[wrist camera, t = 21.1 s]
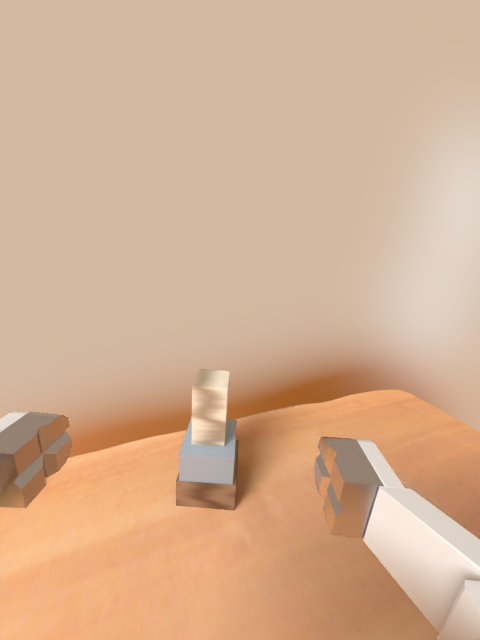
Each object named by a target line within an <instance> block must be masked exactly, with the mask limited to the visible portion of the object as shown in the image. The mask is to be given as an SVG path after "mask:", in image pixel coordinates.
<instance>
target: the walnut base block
mask: <svg viewBox="0 0 480 640" xmlns="http://www.w3.org/2000/svg"><path fill="white" fill-rule="evenodd" d="M237 460H238V440H236V441H235V460H234V472H233V485H230V484H217V483H203V482H189V481H179V474H178V477H177V480H176V505H177V506H189V507H201V508H213V509H224V510H234V507H235V495H236V482H237Z"/></svg>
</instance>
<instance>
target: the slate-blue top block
mask: <svg viewBox="0 0 480 640" xmlns="http://www.w3.org/2000/svg"><path fill="white" fill-rule="evenodd" d="M235 441H236V420H227V427H226V435H225V444H224V446H212V445H198V444H191V442H192V417H191V420H190V423H189V426H188V429H187V432H186V435H185V438H184V441H183V444H182V447H181V450H180V453H179V481H189V482H203V483H217V484H230V485H233V472H234V460H235Z"/></svg>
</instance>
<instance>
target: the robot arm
mask: <svg viewBox="0 0 480 640" xmlns="http://www.w3.org/2000/svg"><path fill="white" fill-rule="evenodd" d="M68 428H69V421H68V417H66V416H64V415H56V414H47V413H37V412H25V411H15V412H11V413H9V414H8V415H6V416H4V417H3V418H1V419H0V507H9V508H26V507H27V506H28V505H29V504H30V503H31V502H32V501H33V499H34V498H35V497H36V496H37V495H38V494H39V493H40V492H41V490H42V489H43V488H44V487H45V486H46V483H47V477H49V476H51V475H53V474H54V473H56V472H58V471H59V470H60V469H61V467H62V466H63V465H64V464H65V463H66V461H67V459H68V457H69V455H70V453H71V447H72V442H71V441H72V440H71V437H70V436H69V435H68V434H67V433H66V430H67V429H68ZM318 448H319V450H320V453H321V454H320V455H319V456H318V457H317V458H316V461H315V481H316V486H317V489H318V493H319V494H320V495H321V496H322V497H323V498H324V499H325V503H324V507H323V509H324V513H325V516H326V519H327V522H328V526H329V529H330V532H331V535H338V536H346V537H354V538H363V541H364V542H365V543H366V545H367V546H368V547H369V548H370V550H371V551H372V552H373V553H374V555H375V556H376V557H377V558H378V560H379V561H380V562H381V563H382V564H383V566H384V567H385V568H386V569H387V571H388V572H389V573H390V574H391V576H392V577H393V578H394V579H395V581H396V582H397V583H398V584H399V585H400V587H401V588H402V589H403V590H404V592H405V593H406V594H407V595H408V597H409V598H410V599H411V600H412V602H413V603H414V604H415V605H416V606H417V608H418V609H419V610H420V611H421V613H422V614H423V615H424V616H425V618H426V619H427V620H428V621H429V623H430V624H431V625H432V626H433V627H434V629H435V630H436V631H437V632H438V636H437V638H436V640H480V539H478V538H477V537H476V536H474V535H473V534H472V533H470V532H469V531H467V530H466V529H465V528H463V527H462V526H461V525H459V524H458V523H457V522H455V521H454V520H453V519H451V518H450V517H448V516H447V515H446V514H444V513H443V512H442V511H440V510H439V509H438V508H436V507H435V506H434V505H432V504H431V503H429V502H428V501H427V500H425V499H424V498H423V497H421V496H420V495H419V494H417V493H416V492H415V491H413V490H412V489H407V488H405V487H404V486H403V484H402V483H401V481H400V480H399V478H398V477H397V475H396V474H395V472H394V471H393V470H392V468H391V467H390V465H389V464H388V462H387V461H386V459H385V458H384V456H383V455H382V454H381V452H380V451H379V449H378V448H377V446H376V445H375V443H374V442H373V441H371V440H370V439H349V438H335V437H321V439H320V441H319V445H318Z"/></svg>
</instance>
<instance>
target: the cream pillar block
mask: <svg viewBox="0 0 480 640" xmlns="http://www.w3.org/2000/svg"><path fill="white" fill-rule="evenodd" d="M229 379H230V371H218V370H205V369H204V370H203V369H199V370H198V373H197V375H196V378H195V380H194V383H193V385H192V442H191V444H198V445H212V446H224V444H225V435H226V427H227V411H228V395H229Z"/></svg>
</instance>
